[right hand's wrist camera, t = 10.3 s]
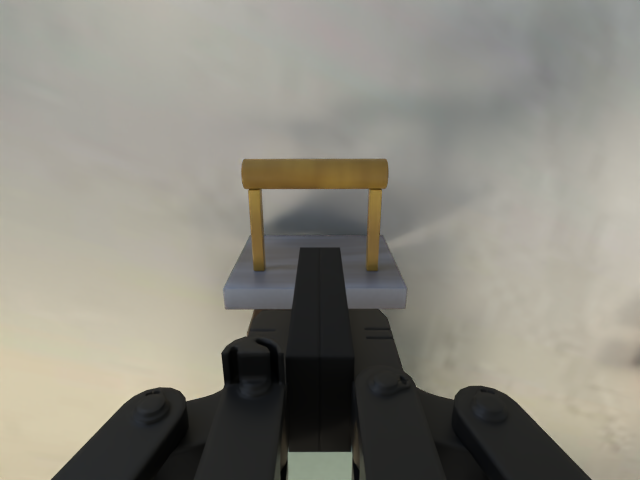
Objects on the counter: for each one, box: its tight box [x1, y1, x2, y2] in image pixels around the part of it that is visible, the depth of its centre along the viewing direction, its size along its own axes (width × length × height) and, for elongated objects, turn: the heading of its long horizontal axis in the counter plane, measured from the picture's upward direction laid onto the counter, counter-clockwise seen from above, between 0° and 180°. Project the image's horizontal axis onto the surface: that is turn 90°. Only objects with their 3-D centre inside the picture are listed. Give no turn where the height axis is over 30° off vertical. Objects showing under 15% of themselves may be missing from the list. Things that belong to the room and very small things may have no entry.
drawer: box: [223, 159, 407, 336], centre depth 25 cm, size 26×9×8 cm, turn 0°
